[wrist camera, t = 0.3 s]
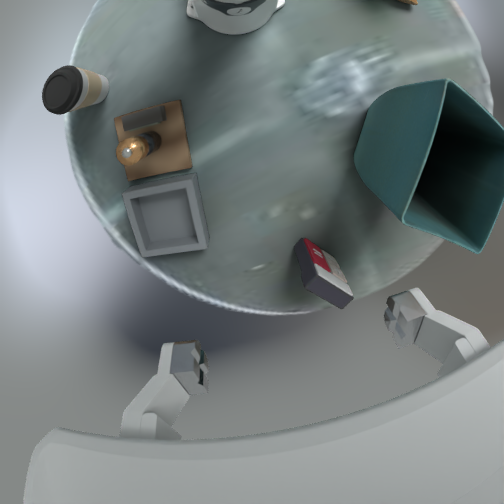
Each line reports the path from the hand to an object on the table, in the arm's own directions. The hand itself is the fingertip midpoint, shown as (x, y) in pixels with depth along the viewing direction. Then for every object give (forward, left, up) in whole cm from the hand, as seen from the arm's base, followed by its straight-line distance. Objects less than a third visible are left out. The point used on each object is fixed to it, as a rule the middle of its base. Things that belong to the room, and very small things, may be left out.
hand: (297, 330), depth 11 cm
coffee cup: (-20, -30, -47) cm, 59 cm away
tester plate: (-5, -19, -47) cm, 51 cm away
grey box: (+26, +12, -47) cm, 55 cm away
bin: (+11, -19, -47) cm, 52 cm away
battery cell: (-5, -19, -45) cm, 49 cm away
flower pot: (0, +29, -47) cm, 55 cm away
